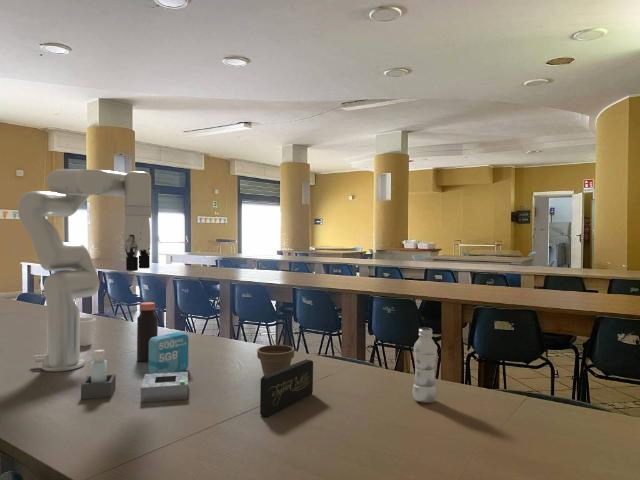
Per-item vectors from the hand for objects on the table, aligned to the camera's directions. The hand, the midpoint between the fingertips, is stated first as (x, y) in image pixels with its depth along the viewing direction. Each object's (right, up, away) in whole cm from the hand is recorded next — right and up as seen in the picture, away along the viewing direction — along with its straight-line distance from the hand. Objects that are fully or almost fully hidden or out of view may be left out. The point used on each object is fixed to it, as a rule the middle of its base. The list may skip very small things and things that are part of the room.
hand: (138, 269), depth 143 cm
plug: (-7, -34, -10) cm, 36 cm away
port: (+11, -34, -10) cm, 37 cm away
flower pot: (+41, -35, +3) cm, 54 cm away
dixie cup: (-39, -33, +44) cm, 67 cm away
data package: (+6, -34, +10) cm, 36 cm away
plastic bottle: (+84, -36, -13) cm, 92 cm away
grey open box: (-7, -34, -10) cm, 36 cm away
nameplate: (+46, -35, -16) cm, 61 cm away
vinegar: (-6, -34, +24) cm, 42 cm away
